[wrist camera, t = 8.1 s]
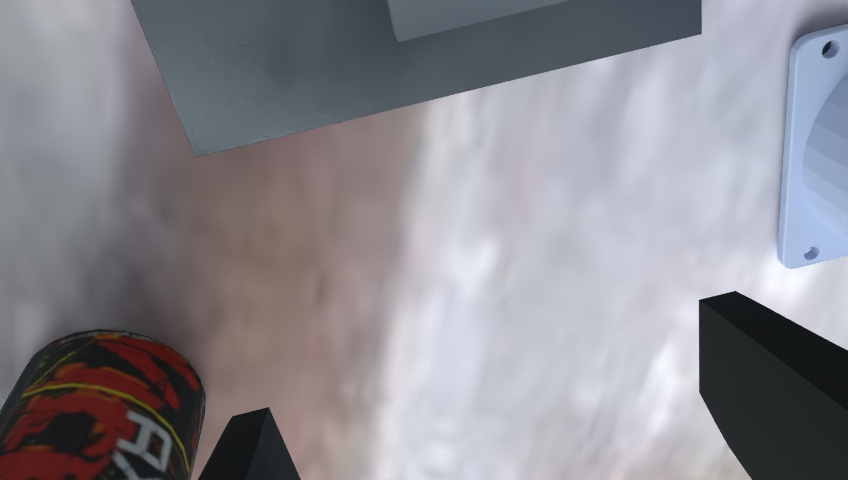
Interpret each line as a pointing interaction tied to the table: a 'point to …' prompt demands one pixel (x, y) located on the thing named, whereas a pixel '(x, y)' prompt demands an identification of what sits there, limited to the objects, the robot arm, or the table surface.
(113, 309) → the table surface
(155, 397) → the deodorant
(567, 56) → the base plate with holder
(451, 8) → the column
